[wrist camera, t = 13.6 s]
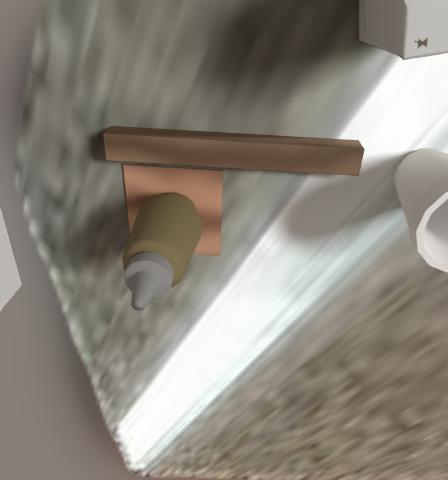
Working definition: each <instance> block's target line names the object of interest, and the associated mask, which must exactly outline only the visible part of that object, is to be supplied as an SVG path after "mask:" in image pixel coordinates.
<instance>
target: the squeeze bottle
mask: <svg viewBox="0 0 448 480" xmlns="http://www.w3.org/2000/svg"><path fill="white" fill-rule="evenodd" d="M201 235H202V221H201V219H200V217H199V214H198V212H197V210H196V208H195V206H194V204H193V202H192V201H191V200H190V199H189V198H187V197H186V196H185V195H182V194H180V193H177V192H167V193H164V194H162V195H159V196H157V197H155V198H152V199H150V200H147V201H146V202H145V203H144V204H143V205H142V206H141V207H140V208H139V210H138V213H137V216H136V219H135V222H134V225H133V228H132V231H131V234H130V237H129V240H128V243H127V246H126V249H125V252H124V255H123V259H122V260H123V265H124V270H125V274H124V278H125V283H126V285H127V286H128V288H129V289H130V290H131V291H132V303H131V305H132V307H133V308H134V309H136V310H142V309H143V308H144V307H145V306H146V305H147V303H148V302H149V301H150V299H151V298H152V299H155V298H158V297H162V296H164V295H165V294H166V293H167V292H168V291H169V289H170V288H171V287H173V286H175V285H176V284H177V283H178V282H179V281H181V279H182V277H183V275H184V273H185V270H186V268H187V266H188V264H189V262H190V259H191V257H192V255H193V253H194V251H195V248H196V246H197V244H198V242H199V239H200V237H201Z"/></svg>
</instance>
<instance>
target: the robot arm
mask: <svg viewBox="0 0 448 480" xmlns="http://www.w3.org/2000/svg"><path fill="white" fill-rule="evenodd" d="M21 285H22V284H21V281H20V277H19V274H18V270H17V267H16V263H15V259H14V256H13V252H12V249H11V245H10V241H9V237H8V234H7V230H6V227H5V223H4V220H3V216H2V212H1V209H0V311H1V310H2V308H3V307H4V306H5V305H6V304H7V302H8V301H9V300H10V299H11V297H12V296H13V295H14V294H15V292H16V291H17V290H18V289H19V288H20V286H21Z"/></svg>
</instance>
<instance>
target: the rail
mask: <svg viewBox="0 0 448 480" xmlns="http://www.w3.org/2000/svg"><path fill="white" fill-rule="evenodd" d="M103 137H104V145H105V154H106V160H111V161H127V162H143V163H160V164H176V165H192V166H208V167H224V168H240V169H256V170H272V171H288V172H304V173H320V174H336V175H352V176H359V171H360V167H361V162H362V158H363V153H364V148H363V146H362V145H361V143H360V142H359V140H342V139H324V138H307V137H290V136H273V135H256V134H239V133H222V132H204V131H187V130H170V129H153V128H136V127H119V126H111V127H110V128H109V129H108V130H107V131H106V132H105V133H103ZM123 168H124V179H125V189H126V199H127V210H128V220H129V230H130V234H131V231H132V228H133V225H134V222H135V219H136V216H137V213H138V210H139V208H140V207H141V206H142V205H143V204H144V203H145V202H146V201H147V200H150V199H152V198H155V197H157V196H159V195H162V194H164V193H167V192H177V193H180V194H182V195H185V196H186V197H187V198H189V199H190V200H191V201H192V202H193V204H194V206H195V208H196V210H197V212H198V214H199V217H200V219H201V221H202V235H201V237H200V239H199V242H198V244H197V246H196V248H195V251H194V253H193V254H205V255H219V256H220V242H221V215H222V189H223V170H213V169H197V168H181V167H165V166H149V165H133V164H123Z"/></svg>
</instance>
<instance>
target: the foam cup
mask: <svg viewBox="0 0 448 480" xmlns="http://www.w3.org/2000/svg"><path fill="white" fill-rule="evenodd" d="M394 182H395V187H396V191H397V194H398V197H399V200H400V203H401V206H402V209H403V212H404V215H405V218H406V221H407V224H408V227H409V234H410V239H411V241H412V242H413V244H414V246H415V247H416V249H417V251H418V252H419V253H420V254H421V256H422V257H423V258H424V259H425V260H426V262H427V263H428V264H429V265H430V266H432V267H435V268H437V269H440V270H442V271H445V272H448V154H447V153H444V152H442V151H440V150H437V149H435V148H422V149H418V150H416V151H414V152H412V153H410V154H408V155H407V156H406V157H405V158H404V159H403V160H402V161H401V162H400V163H399V164H398V166H397V169H396V171H395V174H394Z"/></svg>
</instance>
